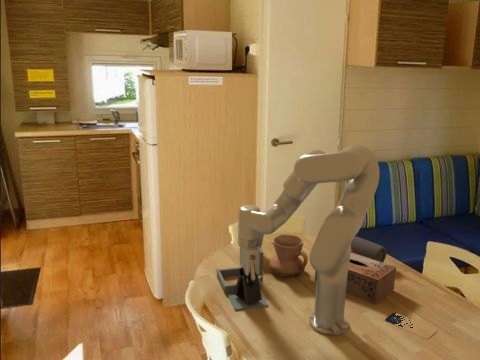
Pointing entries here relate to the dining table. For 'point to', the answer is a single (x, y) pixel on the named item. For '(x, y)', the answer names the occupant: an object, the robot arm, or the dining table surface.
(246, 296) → the phone stand
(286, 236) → the ceramic jug
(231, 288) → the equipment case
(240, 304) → the slate mat
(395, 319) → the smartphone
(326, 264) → the robot arm
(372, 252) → the bluetooth speaker
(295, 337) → the dining table surface
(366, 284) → the tissue box cover
